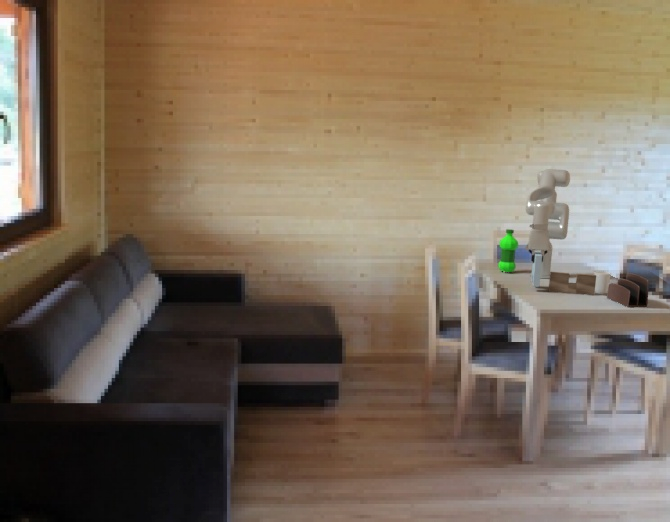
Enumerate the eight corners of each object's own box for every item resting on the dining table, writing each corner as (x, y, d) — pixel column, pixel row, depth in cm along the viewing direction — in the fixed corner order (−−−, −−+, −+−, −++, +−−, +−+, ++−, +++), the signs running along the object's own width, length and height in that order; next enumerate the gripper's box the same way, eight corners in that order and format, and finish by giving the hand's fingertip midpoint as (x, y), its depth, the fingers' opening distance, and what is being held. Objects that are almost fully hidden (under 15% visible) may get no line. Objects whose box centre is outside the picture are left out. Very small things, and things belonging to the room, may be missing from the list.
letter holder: (625, 298, 351) (628, 270, 348) (647, 308, 331) (650, 278, 329) (606, 298, 349) (609, 270, 347) (627, 307, 330) (630, 278, 328)
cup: (596, 293, 360) (598, 273, 358) (585, 288, 371) (587, 269, 370) (611, 293, 361) (613, 274, 359) (600, 288, 372) (602, 269, 371)
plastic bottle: (494, 272, 409) (498, 229, 405) (502, 270, 417) (505, 228, 413) (510, 274, 403) (514, 231, 399) (518, 272, 411) (521, 230, 407)
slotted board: (548, 290, 361) (550, 271, 360) (593, 294, 358) (595, 274, 356) (549, 291, 359) (551, 272, 357) (594, 295, 355) (596, 275, 353)
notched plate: (531, 280, 371) (533, 250, 368) (536, 281, 370) (539, 251, 367) (533, 286, 357) (535, 255, 354) (539, 286, 357) (542, 255, 353)
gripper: (524, 227, 356) (521, 263, 359) (557, 229, 353) (554, 265, 356) (523, 225, 363) (520, 260, 367) (555, 227, 360) (552, 262, 364)
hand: (537, 262), depth 361 cm, fingers closed on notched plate, 3 cm apart
